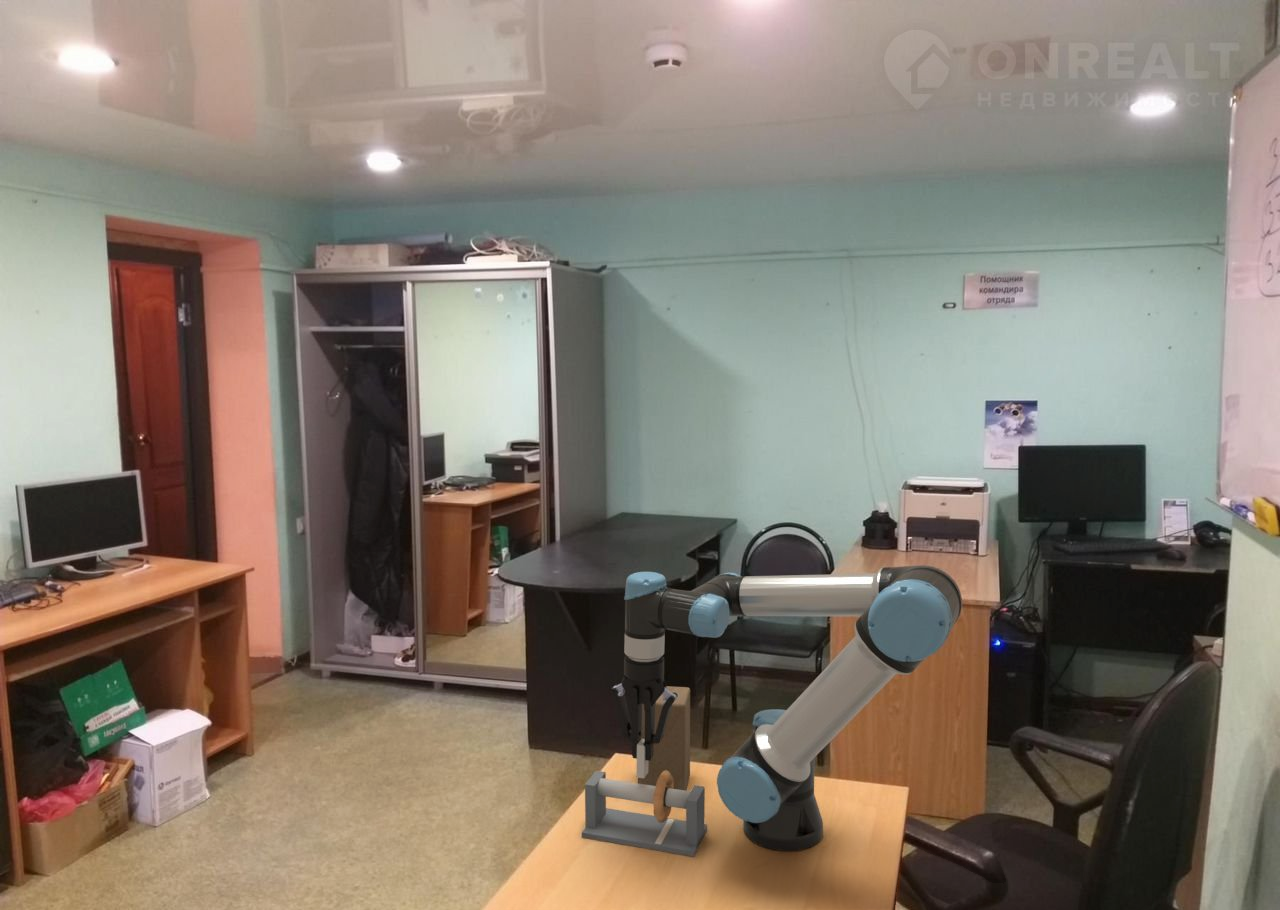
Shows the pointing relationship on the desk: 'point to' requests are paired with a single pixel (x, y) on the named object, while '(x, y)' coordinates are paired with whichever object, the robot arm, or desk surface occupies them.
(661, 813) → the o-ring
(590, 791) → the pipe stand
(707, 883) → the desk surface
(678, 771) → the wooden block
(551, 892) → the desk surface
